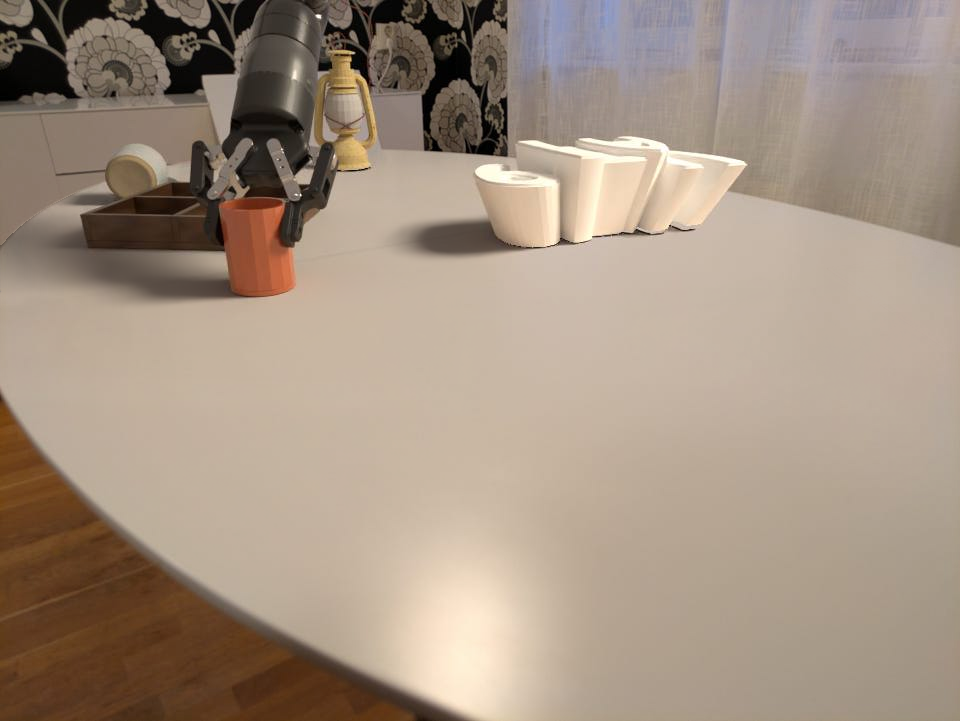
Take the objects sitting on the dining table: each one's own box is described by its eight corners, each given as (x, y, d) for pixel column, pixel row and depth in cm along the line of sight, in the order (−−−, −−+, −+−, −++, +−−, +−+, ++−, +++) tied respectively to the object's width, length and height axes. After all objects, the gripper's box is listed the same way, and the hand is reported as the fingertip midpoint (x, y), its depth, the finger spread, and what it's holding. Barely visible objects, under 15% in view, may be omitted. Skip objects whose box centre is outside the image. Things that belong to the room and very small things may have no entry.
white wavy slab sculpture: (670, 207, 100) (679, 133, 96) (747, 233, 86) (762, 147, 82) (448, 225, 89) (447, 142, 84) (495, 258, 75) (497, 160, 70)
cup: (221, 295, 62) (207, 209, 59) (244, 276, 68) (233, 196, 65) (284, 297, 62) (274, 211, 59) (303, 277, 68) (294, 197, 64)
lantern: (376, 163, 137) (368, -4, 125) (381, 170, 129) (372, -8, 116) (316, 164, 135) (301, -6, 122) (317, 172, 126) (301, -10, 114)
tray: (87, 247, 77) (79, 214, 76) (172, 208, 97) (168, 181, 95) (271, 251, 76) (267, 218, 75) (320, 211, 96) (317, 184, 94)
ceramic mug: (107, 205, 97) (96, 150, 94) (119, 194, 105) (109, 143, 101) (185, 203, 100) (177, 150, 97) (192, 193, 107) (185, 143, 104)
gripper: (355, 122, 71) (337, 264, 65) (220, 120, 71) (191, 261, 65) (339, 69, 64) (318, 222, 58) (190, 67, 64) (154, 219, 58)
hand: (250, 242), depth 62 cm, fingers closed on cup, 6 cm apart
